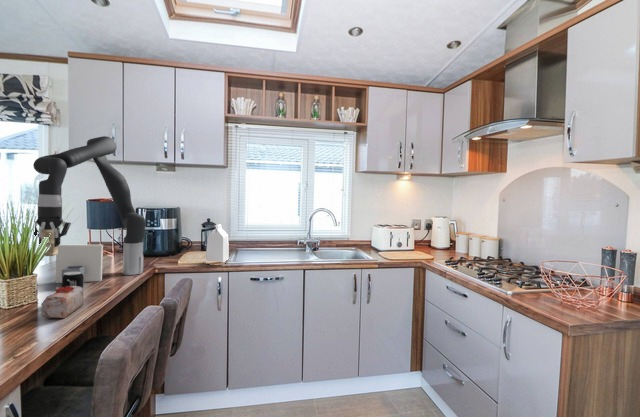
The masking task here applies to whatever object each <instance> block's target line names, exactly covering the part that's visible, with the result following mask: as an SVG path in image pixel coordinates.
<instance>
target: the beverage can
mask: <svg viewBox="0 0 640 417" xmlns="http://www.w3.org/2000/svg"><path fill="white" fill-rule="evenodd" d="M83 281H84V275H83V274H82V271H71V272H66V273H64V276H63V277H62V283H61V288H63V287H66V286H79V287H82V288H83V289H84V282H83Z"/></svg>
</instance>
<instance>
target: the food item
mask: <svg viewBox="0 0 640 417" xmlns="http://www.w3.org/2000/svg"><path fill="white" fill-rule="evenodd" d="M55 289H56V290H55V292H54V293H53V294H52V293H51V294H49V295H48V296H46V297H45V299H44V300H43V301H42V302H41V309H40V311H41V313H40V315H41V316H42V317H43V318H44V317H45V318H46V319H51V318H64V319H66V318H67V317H68V316H69V315H71V314H73V312H75V311H76V310H78V309H80V308H81V307H83V306H84V305H85V304H84V299H85V298H84V287H83V288H82V287H79V286H66V287H63V288H62V287H58V286H56V287H55ZM65 317H66V318H65Z"/></svg>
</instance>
